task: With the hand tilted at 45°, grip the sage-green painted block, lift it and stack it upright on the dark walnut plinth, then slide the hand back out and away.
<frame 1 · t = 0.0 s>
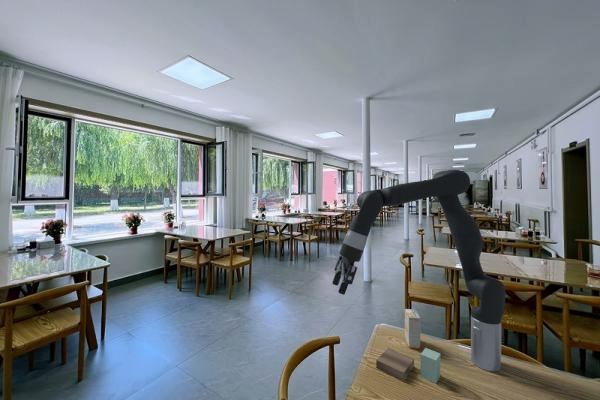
hand: (337, 288, 89), 31 cm above the table, tool tilted 20°, fingers open, 8 cm apart
sage block: (430, 376, 90), on the table
supplement box: (412, 343, 110), on the table
walnut plinth: (395, 367, 95), on the table
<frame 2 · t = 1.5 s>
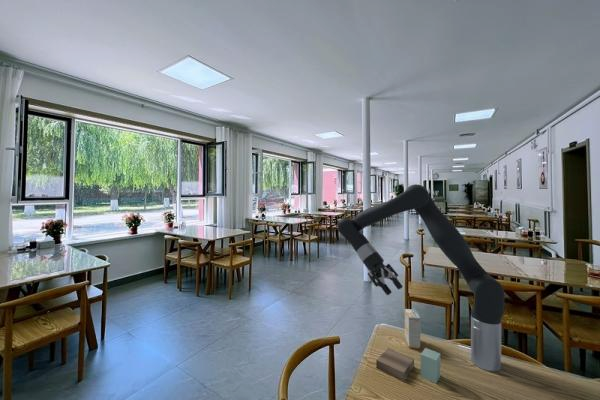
hand: (395, 291, 99), 27 cm above the table, tool tilted 45°, fingers open, 8 cm apart
nothing on the table moved.
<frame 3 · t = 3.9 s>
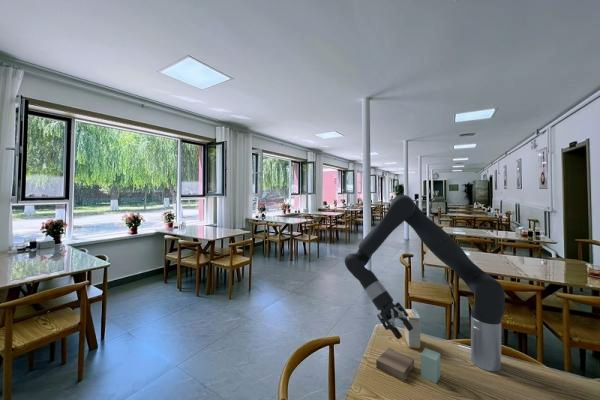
hand: (406, 333, 96), 11 cm above the table, tool tilted 45°, fingers open, 8 cm apart
nothing on the table moved.
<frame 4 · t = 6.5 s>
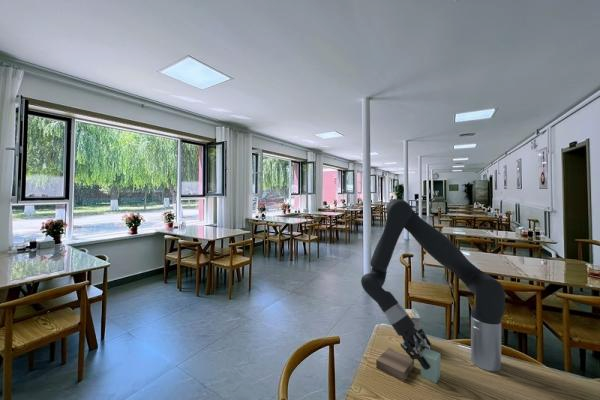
hand: (431, 364, 90), 4 cm above the table, tool tilted 45°, fingers closed on sage block, 5 cm apart
sage block: (430, 376, 90), on the table, touching gripper
everything else where it was.
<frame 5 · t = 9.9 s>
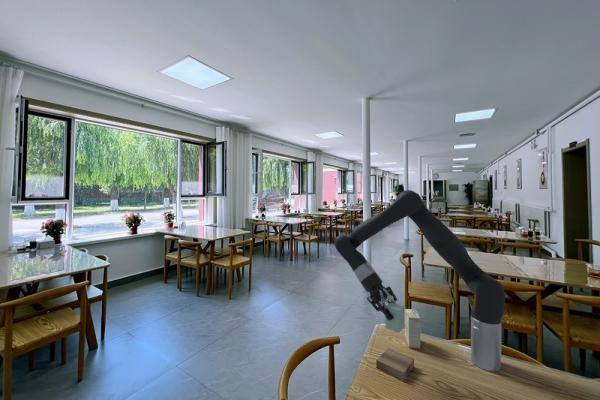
hand: (395, 316, 94), 19 cm above the table, tool tilted 45°, fingers closed on sage block, 5 cm apart
sage block: (394, 327, 94), point 15 cm above the table, touching gripper
everything else where it was.
when the fingers open (9 cm above the table, at t = 13.2 s): sage block drops 1 cm, resting on walnut plinth.
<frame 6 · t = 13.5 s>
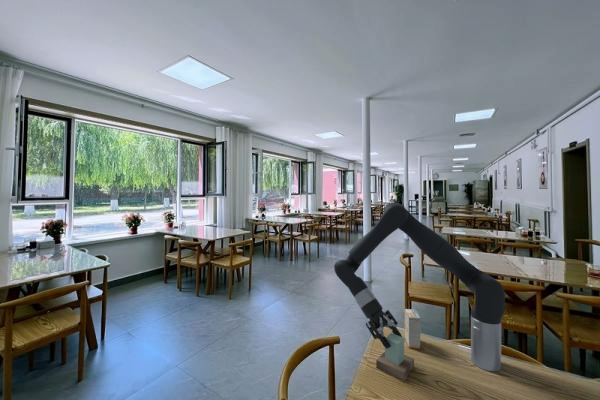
hand: (394, 343, 94), 9 cm above the table, tool tilted 45°, fingers open, 8 cm apart
sage block: (394, 359, 95), point 3 cm above the table, touching walnut plinth
everything else where it was.
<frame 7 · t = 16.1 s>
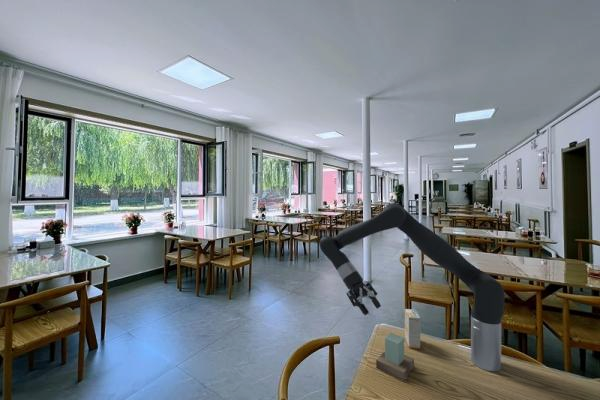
hand: (373, 310, 101), 18 cm above the table, tool tilted 45°, fingers open, 8 cm apart
nothing on the table moved.
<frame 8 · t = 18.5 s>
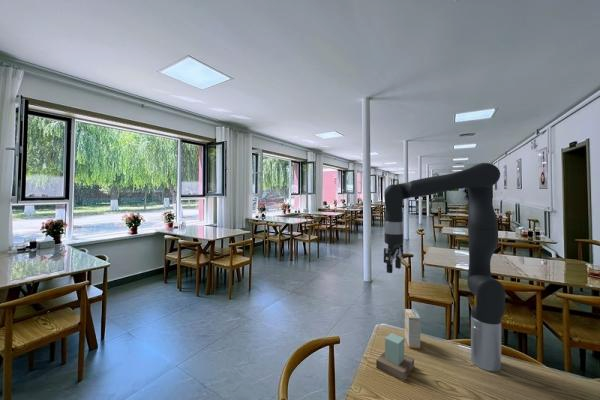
hand: (394, 270, 107), 32 cm above the table, tool pointing down, fingers open, 8 cm apart
nothing on the table moved.
at the end: sage block 0.2 cm off-centre on the walnut plinth, point 3.0 cm above the walnut plinth's base; sage block tilted 0°; the gripper is holding nothing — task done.
